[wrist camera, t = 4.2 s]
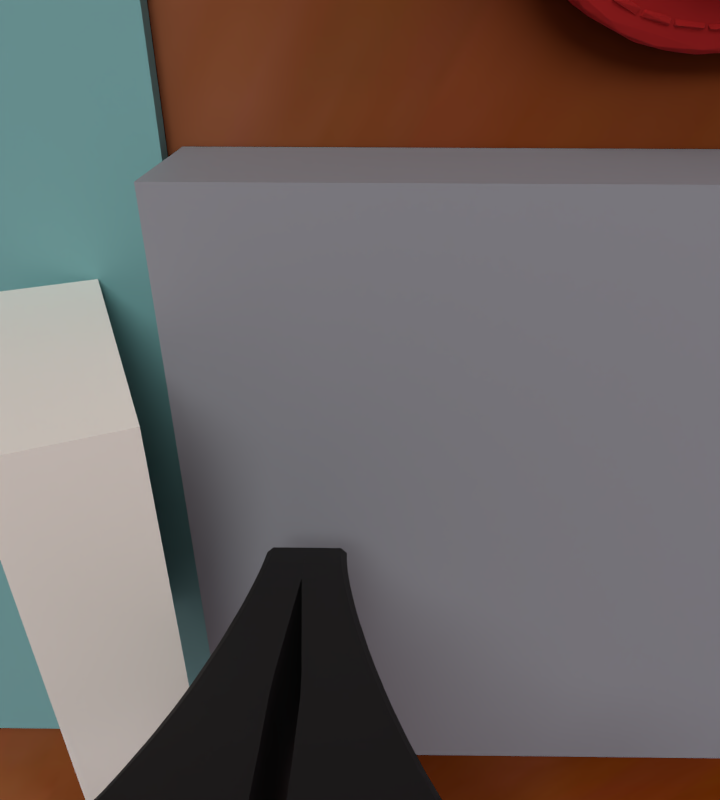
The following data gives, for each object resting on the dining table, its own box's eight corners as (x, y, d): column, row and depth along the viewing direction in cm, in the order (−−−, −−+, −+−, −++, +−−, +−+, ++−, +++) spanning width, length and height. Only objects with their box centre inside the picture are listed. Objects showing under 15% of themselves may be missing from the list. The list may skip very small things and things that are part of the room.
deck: (762, 659, 19) (823, 759, 17) (244, 654, 19) (226, 752, 17) (992, 150, 12) (1158, 187, 10) (182, 146, 12) (133, 182, 10)
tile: (213, 815, 13) (106, 859, 12) (162, 601, 18) (82, 624, 17) (140, 427, 9) (-35, 461, 8) (98, 278, 13) (-14, 293, 13)
